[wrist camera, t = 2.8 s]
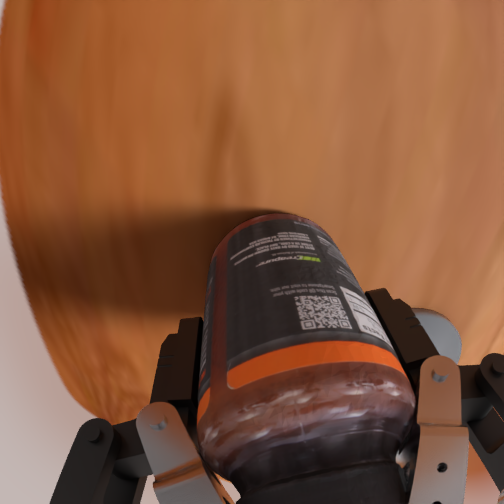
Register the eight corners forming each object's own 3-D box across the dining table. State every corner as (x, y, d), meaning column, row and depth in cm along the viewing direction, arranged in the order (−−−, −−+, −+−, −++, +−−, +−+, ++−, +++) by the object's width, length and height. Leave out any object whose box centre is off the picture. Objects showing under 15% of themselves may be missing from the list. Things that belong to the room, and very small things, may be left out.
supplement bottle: (244, 332, 16) (257, 554, 6) (184, 243, 13) (126, 531, 4) (352, 289, 15) (441, 506, 5) (313, 184, 12) (477, 464, 3)
